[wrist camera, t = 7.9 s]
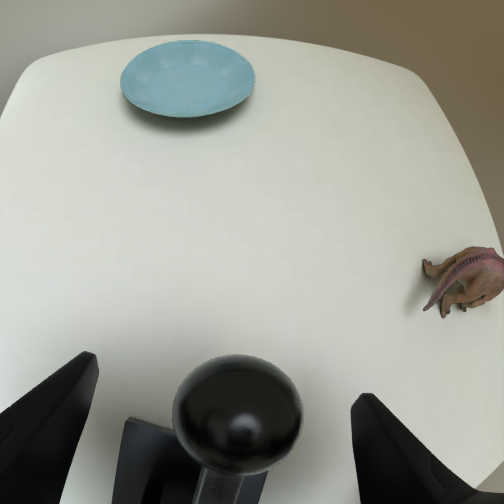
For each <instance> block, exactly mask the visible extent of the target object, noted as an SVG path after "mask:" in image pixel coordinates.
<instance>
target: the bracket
mask: <svg viewBox="0 0 504 504" xmlns="http://www.w3.org/2000/svg"><path fill="white" fill-rule="evenodd" d="M201 468H202V466H201V465H200V464H198V463H197V462H195V461H194V460H193V459H192V458H191V457H190V456H189V455H188V454H187V453H186V452H185V451H184V449H183V448H182V446H181V445H180V443H179V441H178V439H177V437H176V434H175V431H174V430H171V429H167V428H164V427H161V426H157V425H154V424H151V423H147V422H144V421H141V420H138V419H135V418H132V417H129V418H128V419H127V420H126V421H125V425H124V430H123V435H122V441H121V446H120V451H119V457H118V463H117V469H116V475H115V482H114V489H113V496H112V504H192V502H193V498H194V495H195V491H196V487H197V483H198V480H199V476H200V472H201ZM267 473H268V470H267V471H265V472H262V473H259V474H255V475H250V476H244V478H243V481H242V484H241V487H240V490H239V493H238V496H237V499H236V502H235V504H258V502H259V499H260V496H261V493H262V489H263V486H264V483H265V480H266V476H267Z"/></svg>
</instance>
